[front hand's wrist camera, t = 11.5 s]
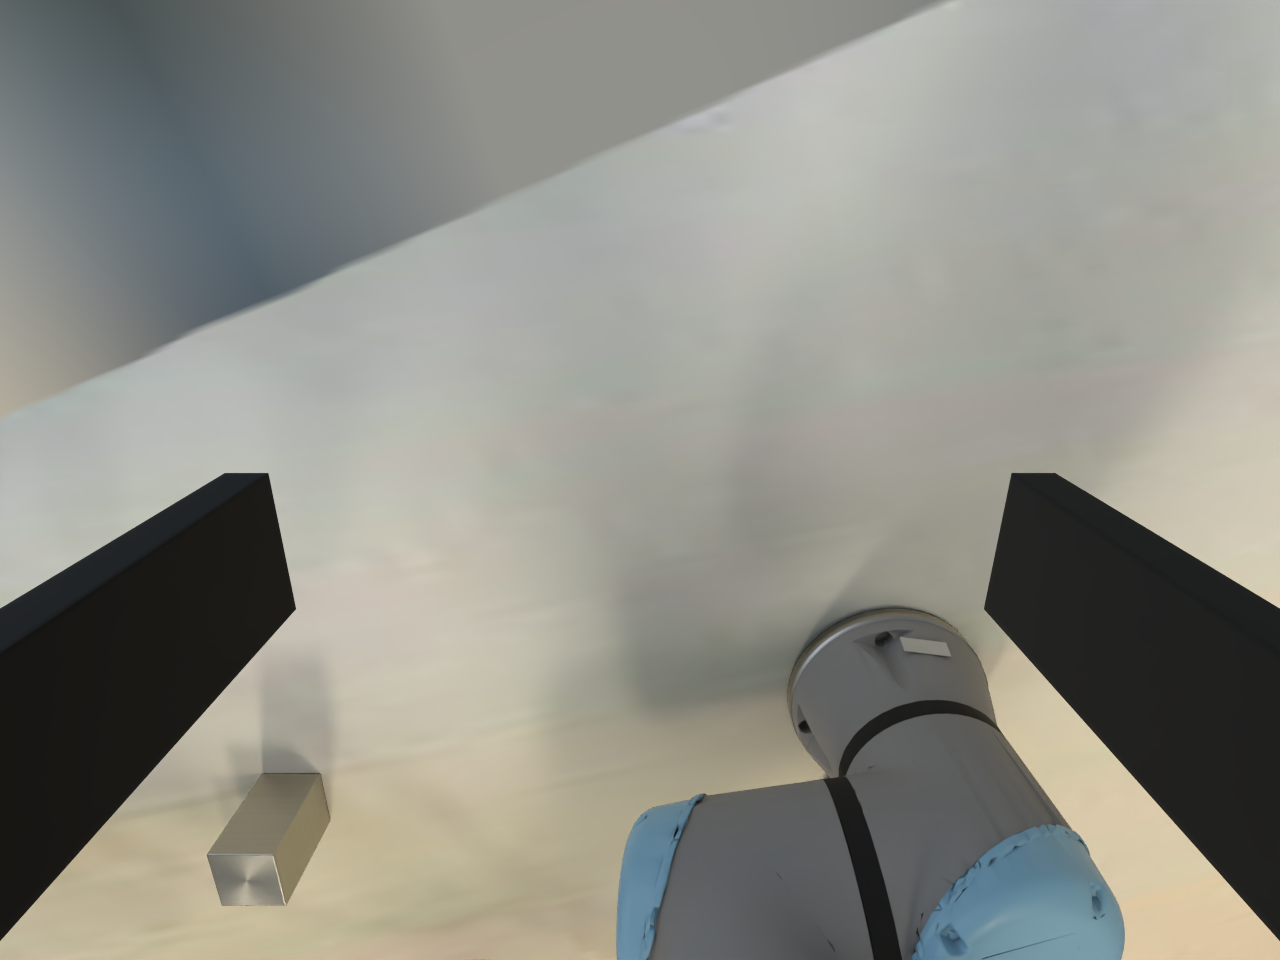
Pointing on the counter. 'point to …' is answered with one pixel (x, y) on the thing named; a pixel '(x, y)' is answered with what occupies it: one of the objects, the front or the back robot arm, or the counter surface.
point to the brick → (269, 840)
